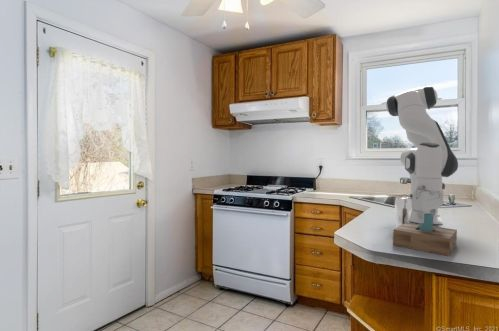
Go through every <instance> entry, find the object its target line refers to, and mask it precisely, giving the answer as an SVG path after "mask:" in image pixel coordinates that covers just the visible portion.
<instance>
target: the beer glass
mask: <svg viewBox="0 0 499 331" xmlns="http://www.w3.org/2000/svg"><path fill="white" fill-rule="evenodd" d="M411 207H412V198H410V197H407V196H406V197H405V196H396V197H395V202H394V214H395V220H396V221H395V222H396V223H395V228H397V227H399V226H400V225H402V224H404V223H406V222H407V223H410V216H411V212H412V208H411ZM395 228H394V229H395Z"/></svg>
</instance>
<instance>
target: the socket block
mask: <svg viewBox="0 0 499 331" xmlns="http://www.w3.org/2000/svg"><path fill="white" fill-rule="evenodd" d="M392 233H393V234H392V236H393V237H392V238H393V239H392V245H393V246H395V245H396V246H397V247H401V248H407V249H412V250H415V251H416V250H417V251H421V252H426V253H432V254H436V255H442V256H447V257H450V255H451V254H452V252H453V251H454V249H455V248H456V246H457V238H458V236H457V234H458V229H454V228H447V227H442V226H441V227H440V226H434V225H433V232H427V231H421V230H419V223H415V222H409V223H407V222H406V223H404V224H402V225H400V226H399V227H397V228H394V229H393V232H392ZM396 246H395V247H396Z"/></svg>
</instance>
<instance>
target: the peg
mask: <svg viewBox="0 0 499 331" xmlns="http://www.w3.org/2000/svg"><path fill="white" fill-rule="evenodd" d="M424 218H425V223H418V224H419V230H421V231H427V232H433V226H434V224H433V215H432V214H429V213H425V214H424Z"/></svg>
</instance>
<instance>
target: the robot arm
mask: <svg viewBox="0 0 499 331" xmlns="http://www.w3.org/2000/svg"><path fill="white" fill-rule="evenodd" d="M437 102H438V93H437V90H435V88H434V86H432V85H426V86H423V87H417V88H412V89H409V90H406V91H403V92H401V93H397V94H396V95H395V94H393V95H392V96H389V97H388V98H387V100H386V104H385V107H386V111H387V112H388V114H389V116H391V117H398V122H399V124H400V126H401V127H402V129H404V130H405V132H406V137H407V140H408V141H409V142H410V143H412V144H413V145H415V146H416V147H415V148H412V147H411V148H408V149H404V150H403V151H402V152H401V154H400V157H399V159H400V163H401V165H402V166H403V167H404V169H405V171H406V172H407V173H408V175H409V177H410V193H409V198H412V207H411V208H412V212H411V216H410V221H409V223H414V224H419V223H425V218H424V214H425V213H429V214H432V215H433V225H443V221H442V220H443V219H442V218H441V217H440V214H439V209H440V208H442V206H443V200H444V194H445V193H444V190H446V184H445V183H444V182H443V178H449V177H451V176H453V174H454V173H455V174H456V172H457V171H458V168H459V167H458V166H459V162H458V159H457V157H456V155H455V153H454V152H453V150H452V149H451V147H450V145H449V143H448V140H447V138H446V136H445V135H444V132H443V130H442V128H441V126H440V124H439V123H438V121H437V120H434V119H433V118H432V117H431V116H430V115H429V114H428V113H427V110H430V109H432V108H433V107H435V105H437Z"/></svg>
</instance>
